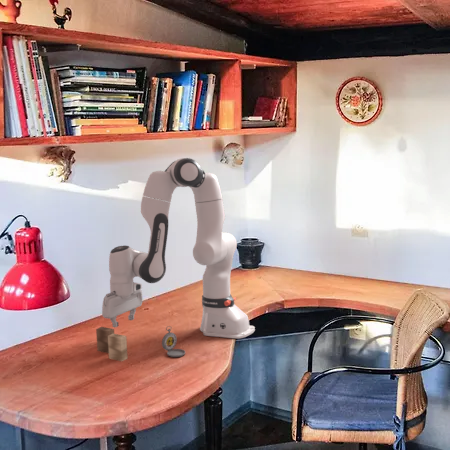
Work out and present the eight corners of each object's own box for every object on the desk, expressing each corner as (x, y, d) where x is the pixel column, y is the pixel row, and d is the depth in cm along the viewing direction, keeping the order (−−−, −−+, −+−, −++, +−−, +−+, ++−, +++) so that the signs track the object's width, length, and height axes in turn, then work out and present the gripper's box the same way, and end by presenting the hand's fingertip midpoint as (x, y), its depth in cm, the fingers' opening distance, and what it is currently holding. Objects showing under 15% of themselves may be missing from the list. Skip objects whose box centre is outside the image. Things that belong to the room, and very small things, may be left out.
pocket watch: (182, 358, 221) (182, 331, 220) (160, 357, 223) (159, 330, 221) (188, 350, 229) (187, 324, 228) (166, 349, 231) (165, 323, 229)
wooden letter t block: (127, 358, 223) (126, 335, 221) (122, 361, 220) (120, 338, 219) (114, 355, 226) (113, 333, 224) (109, 358, 223) (107, 335, 222)
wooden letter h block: (115, 350, 230) (114, 329, 229) (109, 353, 228) (108, 331, 226) (102, 348, 233) (101, 326, 232) (97, 350, 231) (96, 329, 229)
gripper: (110, 296, 226) (112, 332, 228) (144, 283, 243) (146, 317, 246) (97, 294, 229) (99, 329, 231) (131, 281, 247) (133, 315, 249)
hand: (123, 323), depth 239 cm, fingers open, 8 cm apart
